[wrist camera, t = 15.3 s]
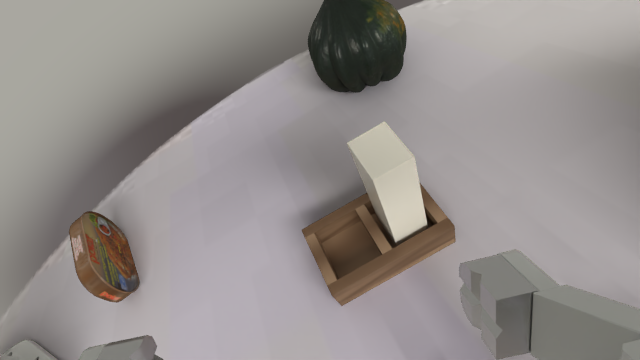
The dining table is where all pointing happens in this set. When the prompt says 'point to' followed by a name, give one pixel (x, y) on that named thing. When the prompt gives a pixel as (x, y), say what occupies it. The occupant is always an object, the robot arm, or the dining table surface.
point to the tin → (103, 257)
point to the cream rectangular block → (390, 182)
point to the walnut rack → (370, 246)
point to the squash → (357, 43)
